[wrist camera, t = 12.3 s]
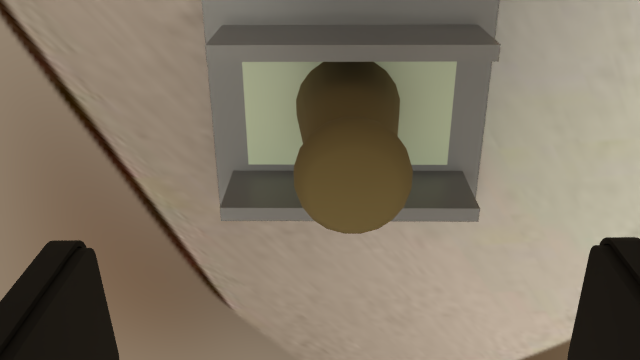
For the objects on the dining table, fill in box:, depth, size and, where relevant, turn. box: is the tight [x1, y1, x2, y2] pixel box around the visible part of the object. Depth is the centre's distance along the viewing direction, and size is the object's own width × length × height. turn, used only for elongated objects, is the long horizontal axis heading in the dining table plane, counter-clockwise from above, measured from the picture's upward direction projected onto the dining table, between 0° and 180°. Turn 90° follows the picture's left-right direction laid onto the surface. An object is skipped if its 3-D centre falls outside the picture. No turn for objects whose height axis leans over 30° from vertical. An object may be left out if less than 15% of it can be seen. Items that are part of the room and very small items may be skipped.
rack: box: [202, 0, 500, 222], centre depth 31 cm, size 16×22×6 cm
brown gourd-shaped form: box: [294, 62, 413, 233], centre depth 29 cm, size 6×6×11 cm
